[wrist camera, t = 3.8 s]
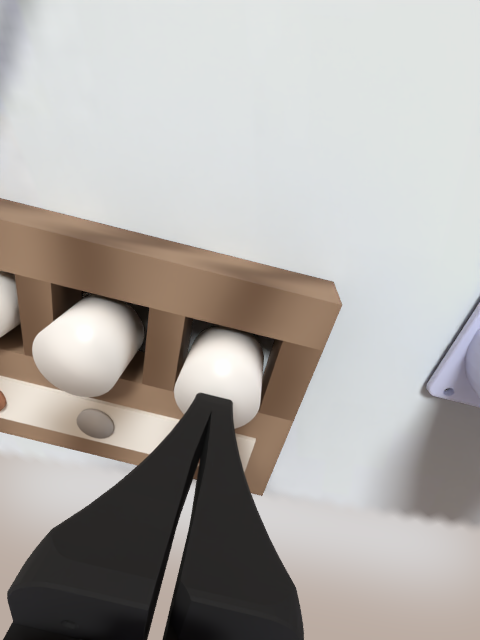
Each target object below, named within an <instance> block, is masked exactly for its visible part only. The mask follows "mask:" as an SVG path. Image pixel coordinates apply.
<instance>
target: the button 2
mask: <svg viewBox="0 0 480 640" xmlns="http://www.w3.org/2000/svg"><path fill="white" fill-rule="evenodd" d="M263 362H264V355H263V350H262V348H261V345H260V344H259V342H258V341H257V340H256V338H255V337H254V336H253V335H251V334H250V333H249V332H246V331H242V330H238V329H234V328H230V327H226V326H222V325H218V326H213V327H210V328H208V329H206V330H204V331H202V332H201V333H200V334H199V335H198V336H197V337H196V339H195V340H194V342H193V345H192V347H191V349H190V351H189V354H188V356H187V358H186V361H185V363H184V365H183V367H182V370H181V372H180V374H179V377H178V379H177V381H176V384H175V387H174V397H175V401H176V403H177V405H178V407H179V409H180V410H181V411H182V413H183V414H185V413H186V411H187V410H188V408H189V407H190V405H191V404H192V402H193V400H194V398H195V396H196V394H198V393H200V392H201V393H205V394H209V395H213V396H217V397H221V398H225V399H229V400H231V401H232V402H233V420H234V429H235V428H239V427H241V426H243V425H245V424H247V423H249V422H250V421H251V420H252V419H253V418H254V417H255V416H256V414H257V412H258V410H259V407H260V400H261V387H262V375H263Z"/></svg>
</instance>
